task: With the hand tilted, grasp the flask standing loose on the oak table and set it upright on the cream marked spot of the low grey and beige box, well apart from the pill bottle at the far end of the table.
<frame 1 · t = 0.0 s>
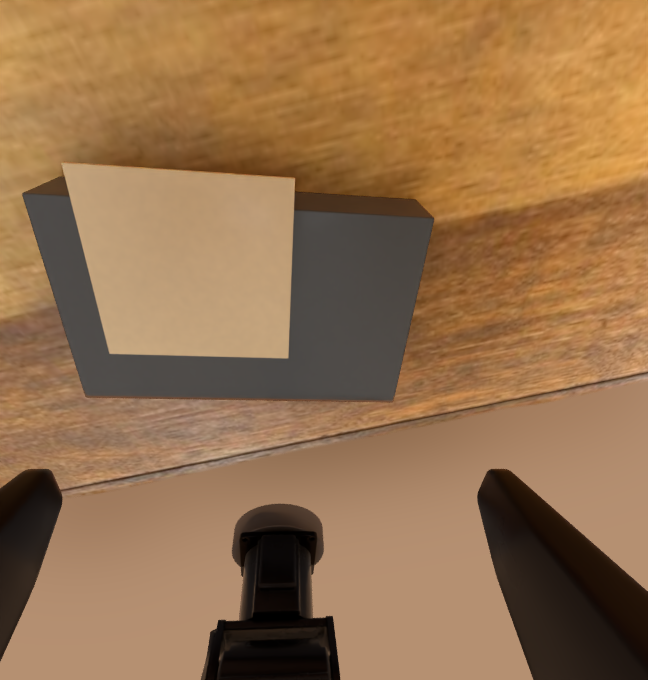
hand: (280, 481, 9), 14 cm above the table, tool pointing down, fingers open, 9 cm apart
grey and beige box: (247, 287, 21), on the table
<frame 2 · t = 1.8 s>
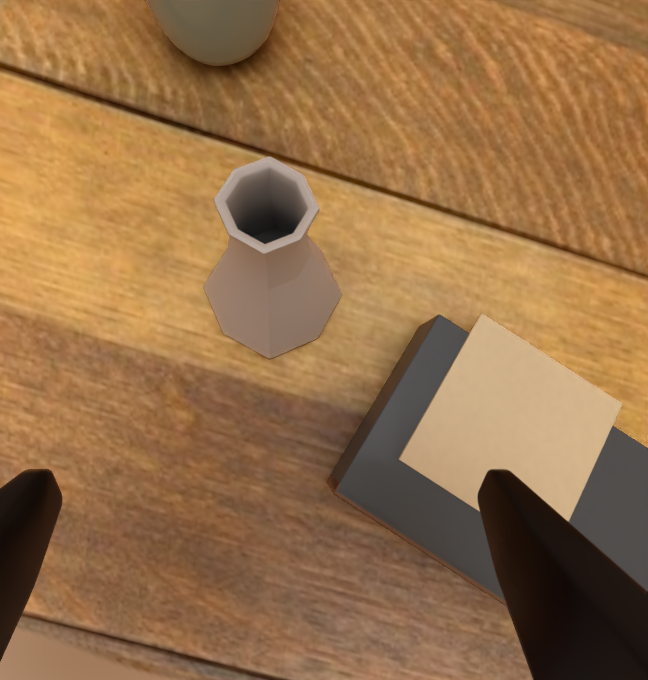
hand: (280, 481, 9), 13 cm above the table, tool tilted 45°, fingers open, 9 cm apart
flask: (273, 293, 23), on the table
grey and beige box: (498, 479, 22), on the table
cup: (219, 36, 26), on the table
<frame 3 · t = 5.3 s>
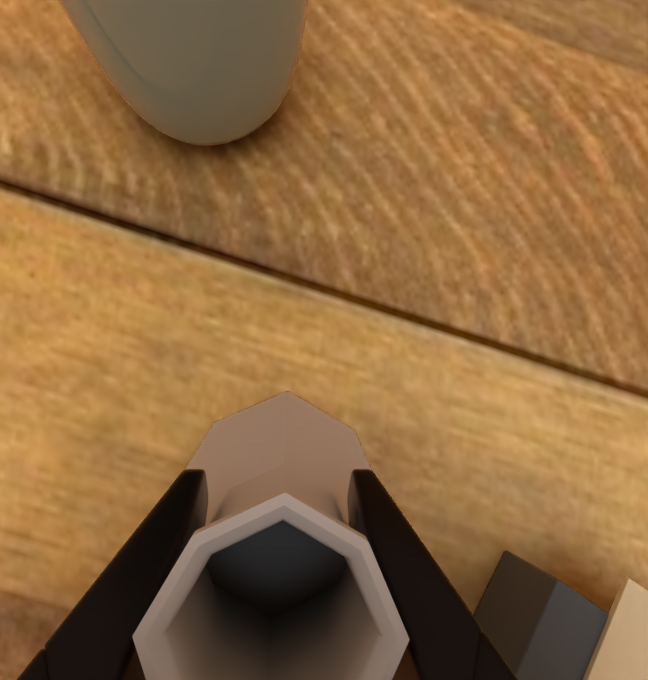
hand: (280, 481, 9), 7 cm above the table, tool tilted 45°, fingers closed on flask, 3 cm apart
flask: (280, 497, 15), on the table, touching gripper
cup: (211, 99, 18), on the table
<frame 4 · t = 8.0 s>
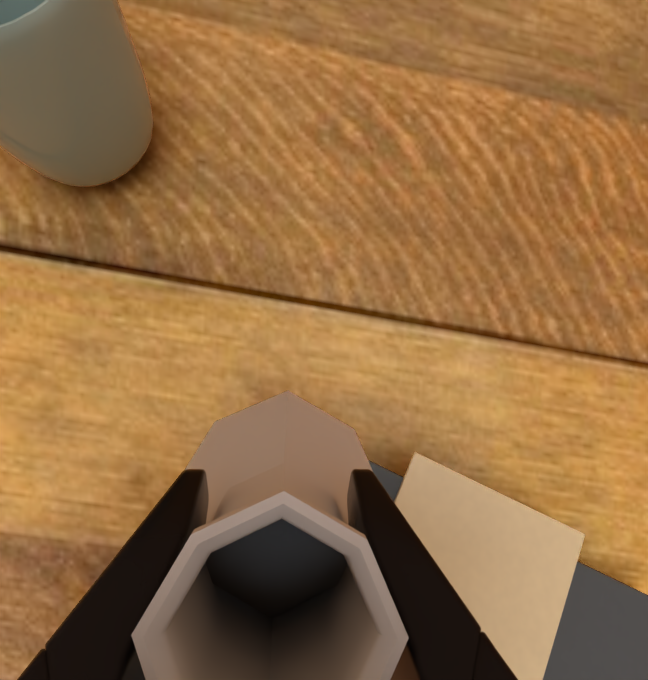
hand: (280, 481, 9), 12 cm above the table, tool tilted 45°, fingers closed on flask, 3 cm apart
flask: (280, 497, 15), point 5 cm above the table, touching gripper
grey and beige box: (461, 622, 20), on the table
cup: (98, 146, 23), on the table
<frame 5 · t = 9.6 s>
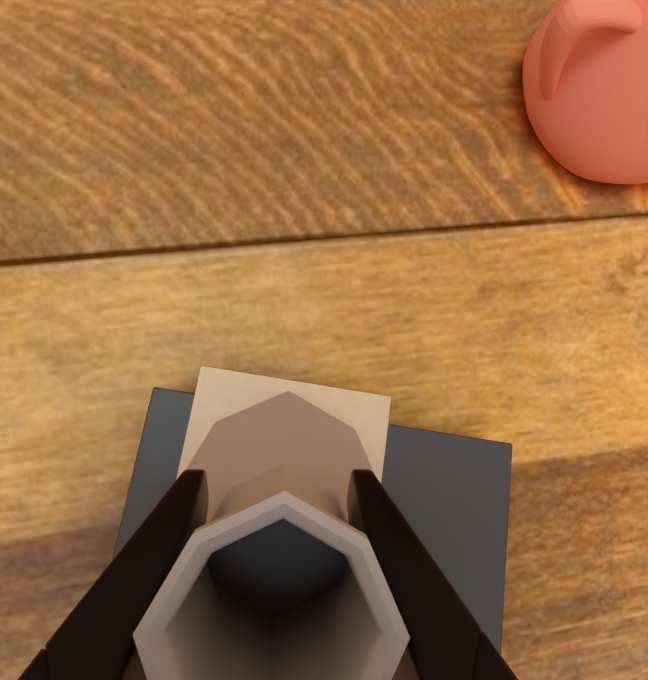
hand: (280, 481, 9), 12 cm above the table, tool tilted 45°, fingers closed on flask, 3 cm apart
flask: (281, 497, 15), point 5 cm above the table, touching gripper
grey and beige box: (315, 520, 20), on the table
teapot: (607, 111, 26), on the table
when the fingers open (10 cm above the table, at t = 10.6 s): flask stays where it is, resting on grey and beige box.
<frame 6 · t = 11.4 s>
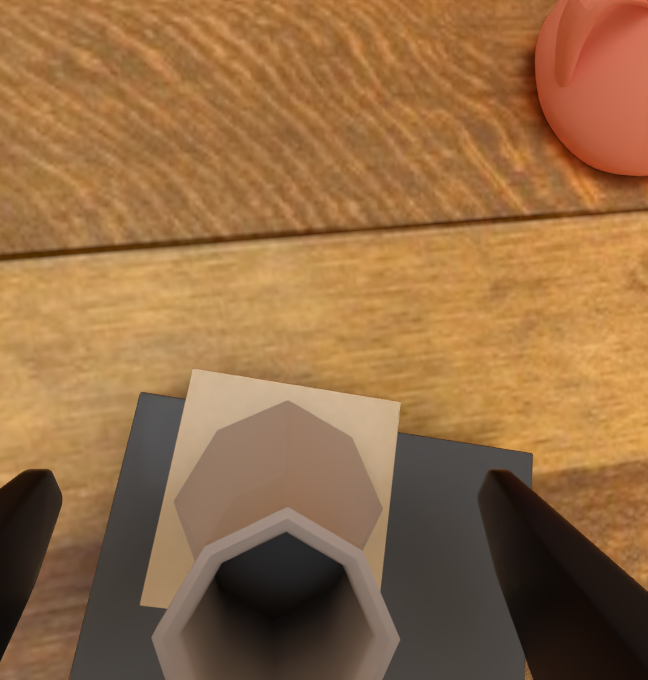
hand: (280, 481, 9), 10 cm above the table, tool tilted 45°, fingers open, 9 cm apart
flask: (280, 502, 15), point 3 cm above the table, touching grey and beige box
grey and beige box: (317, 537, 18), on the table
teapot: (623, 101, 25), on the table
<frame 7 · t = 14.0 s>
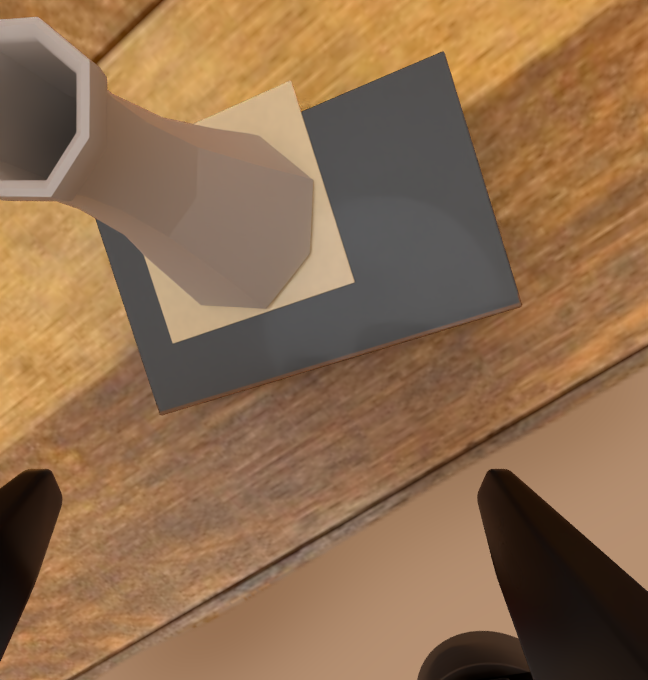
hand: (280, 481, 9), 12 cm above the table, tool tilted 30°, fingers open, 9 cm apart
flask: (233, 225, 17), point 3 cm above the table, touching grey and beige box
grey and beige box: (304, 257, 20), on the table
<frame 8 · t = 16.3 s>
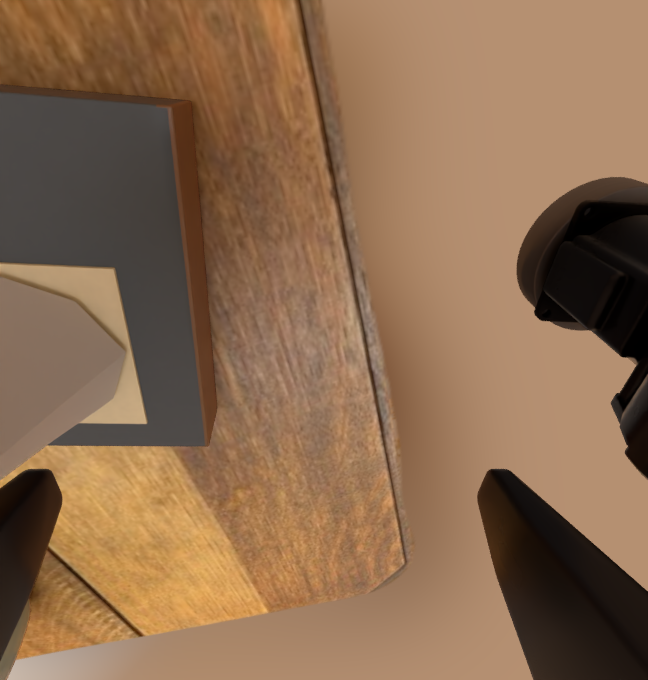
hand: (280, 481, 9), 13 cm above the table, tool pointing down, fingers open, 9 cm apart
flask: (41, 350, 18), point 3 cm above the table, touching grey and beige box
grey and beige box: (99, 283, 20), on the table
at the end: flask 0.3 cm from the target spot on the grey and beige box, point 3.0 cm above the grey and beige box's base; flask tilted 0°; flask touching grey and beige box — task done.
